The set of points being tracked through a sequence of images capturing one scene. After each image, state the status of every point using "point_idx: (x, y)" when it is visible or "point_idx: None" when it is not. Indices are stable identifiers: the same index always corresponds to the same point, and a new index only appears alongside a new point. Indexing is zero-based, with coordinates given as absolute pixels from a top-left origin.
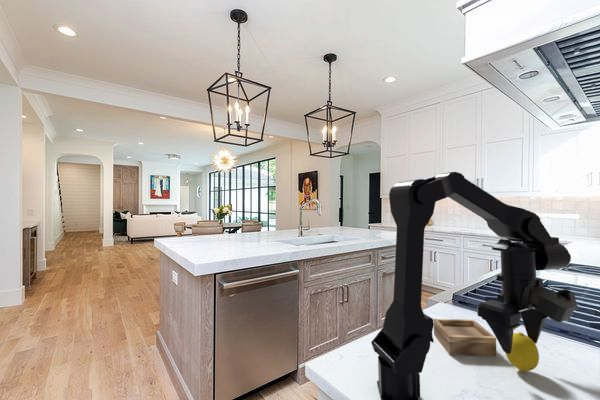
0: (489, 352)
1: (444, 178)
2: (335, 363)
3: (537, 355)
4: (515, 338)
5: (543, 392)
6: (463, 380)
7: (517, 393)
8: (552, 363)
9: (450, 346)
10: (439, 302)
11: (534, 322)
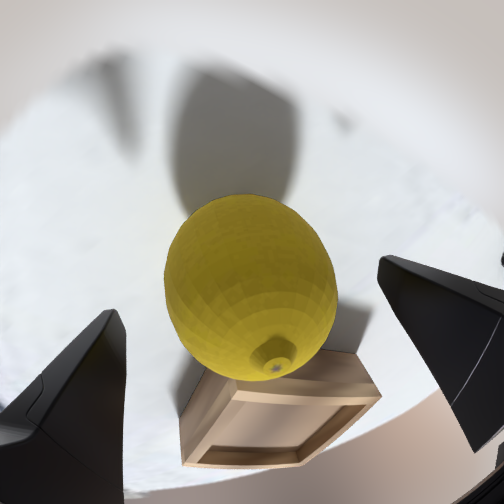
0: None
1: None
2: None
3: (231, 210)
4: (326, 332)
5: (299, 108)
6: (437, 248)
7: (384, 145)
8: (51, 246)
9: (364, 372)
10: (137, 492)
11: (79, 431)
